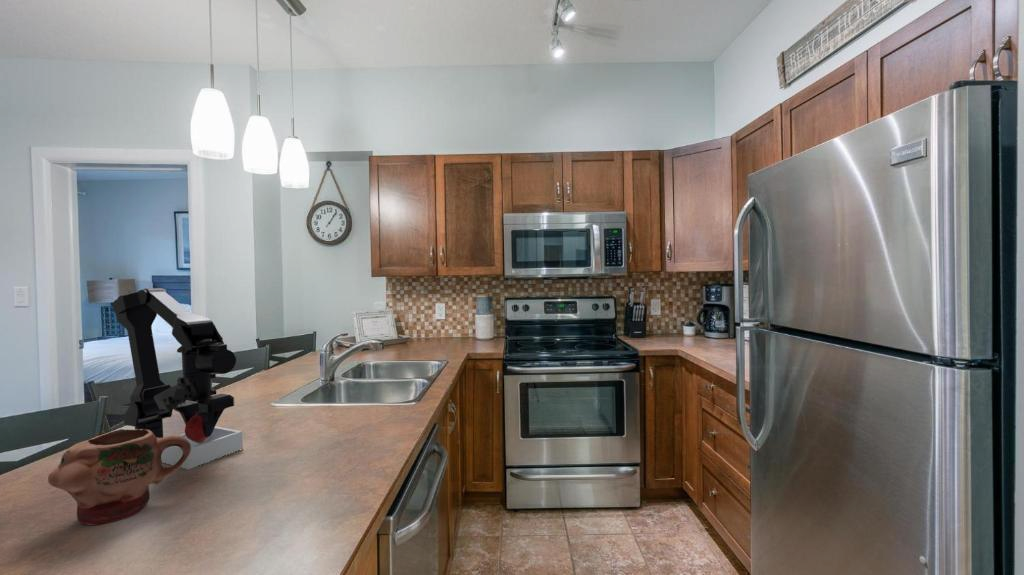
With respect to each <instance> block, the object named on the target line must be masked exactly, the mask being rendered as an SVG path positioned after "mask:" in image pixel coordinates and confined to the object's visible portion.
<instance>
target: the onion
mask: <svg viewBox="0 0 1024 575" xmlns="http://www.w3.org/2000/svg"><path fill="white" fill-rule="evenodd" d="M199 411H200V410H199ZM184 434H185V435H186V436H187V438H189V439H190V440H192V441H194V442H197V443H202V442H204V441H205V440H206V439H207V438H208V437H205V435H204V430H203V424H202V418H201V416H199V415H198V414H195V415H194V416H193V417H192V418H191V419H190V420H189V421H188V422H187V424H186V425H185V427H184Z"/></svg>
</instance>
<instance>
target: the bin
mask: <svg viewBox="0 0 1024 575" xmlns="http://www.w3.org/2000/svg"><path fill="white" fill-rule="evenodd" d="M177 436H180V437H183V438H185V439H187V440H188V442H189V443H190V445H191V451H190V454H189V456H188V458H187V459H186V460H185V461H184V462H183V464H182V465H181V466H180V467H183V468H182V469H184V468H186V469H185V470H188V469H189V470H191V469H190V468H192V469H194V468H193V467H195V468H197V467H199V466H198V465H200V466H202V465H201V464H203V463H205V464H207V463H206V462H208V461H211V460H213V461H215V460H214V459H216V458H218V459H220V458H219V457H221V458H223V457H222V456H224V455H226V456H228V455H227V454H229V455H231V454H230V453H232V452H234V453H236V452H235V451H237V452H239V451H238V450H240V449H242V450H244V443H243V441H244V440H243V437H244V436H243V431H242V430H237V429H231V428H226V427H221V426H216V425H215V428H214V430H213V432H212V434H211V436H209V437H208V438H207V439H206V440H205V441H204V442H202V443H197V442H194V441H192V440H190V439H189V438H187V436H186V435H185V433H182V434H179V435H177ZM240 451H241V450H240ZM232 454H233V453H232ZM182 455H183V451H182V450H181V448H179V447H177V446H171V447H168V448H166V449H165V450H164V451H163V452H162V455H161V461H162V464H165V463H166V464H165V465H169V464H170V466H173V465H175V464H176V463H177V462H178V461H179V460H180V458H181V457H182ZM224 457H225V456H224ZM216 460H217V459H216ZM211 462H212V461H211ZM208 463H209V462H208ZM203 465H204V464H203ZM196 466H197V467H196ZM180 467H179V468H180Z"/></svg>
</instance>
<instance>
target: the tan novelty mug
mask: <svg viewBox="0 0 1024 575" xmlns="http://www.w3.org/2000/svg"><path fill="white" fill-rule="evenodd" d="M171 446H177V447H179V448H181V450H182V451H183V455H182V457H181V458H180V460H179V461H178V462H177V463H176V464H175V465H170V466H164V465H163V463H162V461H161V455H162V452H163V451H164V450H165V449H166V448H168V447H171ZM190 451H191V445H190V443H189V442H188V440H187V439H185V438H183V437H180V436H178V435H169V436H168V435H167V436H163V438H157V437H156V436H155V435H154V434H153V432H152V431H150V430H144V429H135V428H134V429H133V428H131V429H117V430H113V431H110V432H107V433H104V434H101V435H97V436H94V437H92V438H90V439H86V440H83V441H80V442H77V443H75V444H73V445H72V446H70V447H69V448H68V449H66V451H65V452H64V453H63V455H62V456H61V458H60V459H61V460H60V462H59V464H58V465H57V467H55V468H54V469H53V470H52V471H51V472H50V473H49V474H48V477H47V481H48V483H49V485H50V486H52V487H54V488H57V489H60V490H63V491H65V492H67V493H68V494H69V495H70V496H71V497H72V498H73V499H74V501H75V502H76V504H77V505H76V517H77V518H76V519H77V521H78V522H79V523H80V524H84V525H88V526H89V525H90V526H91V525H93V526H94V525H100V524H107V523H111V522H115V521H119V520H122V519H126V518H129V517H131V515H132V516H133V514H134V515H136V514H137V513H139V512H140V511H142V510H143V509H144V508H145V507H146V505H147V504H148V503H149V501H150V497H151V494H150V485H152V484H154V485H160V484H161V483H162V482H163V481H164V480H166V479H167V478H168V477H170V476H172V474H174V473H175V472H176V471H177V470H178V469H180V466H181V465H182V464H183V462H184V461H185V460H186V459H187V458H188V456H189V454H190Z"/></svg>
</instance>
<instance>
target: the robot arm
mask: <svg viewBox="0 0 1024 575" xmlns="http://www.w3.org/2000/svg"><path fill="white" fill-rule="evenodd" d="M112 311H113V312H114V314H115V317H116V320H117V322H118V323H119V324H120V325H121V326H122V327H123V328H124V329H125V330H126V331H127V336H128V342H129V348H130V355H131V359H132V366H133V372H134V377H135V378H134V379H135V382H136V383H135V388H134V389H133V391H132V392H131V395H130V405H129V407H128V408H127V410H126V411H125V413H124V415H123V417H122V418H123V419H122V420H123V422H124V426H128V427H130V426H131V427H134V429H144V430H150V431H152V432H153V434H154V435H155V436H156V437H157V438H163V437H164V421H163V420H164V419H167V418H172V416H173V410H174V411H175V412H178V413H179V414H180V416H181V417H182V420H183V422H184V424H185V426H186V424H187V422H188V421H189V420H190V419H191V418H192V417H193V416H194V415H195V414H198V415H199V416H201V418H202V424H203V430H204V435H205V437H209V436H211V434H212V432H213V430H214V428H215V426H216V425H217V423H218V421H219V419H220V417H221V416H222V414H223V412H224V411H225V410H226V409H229V408H231V407H235V397H234V396H232V395H231V394H226V393H218V394H217V389H213V381H212V380H213V379H214V378H217V376H216V375H225V374H228V373H231V371H232V370H234V368H235V366H236V363H237V357H236V355H235V354H234V351H231V350H229V349H228V345H227V343H225V342H224V341H223V337H222V336H221V334H220V333H219V331H218V329H217V327H216V325H215V323H214V322H213V320H211V319H210V318H209V317H206V316H204V315H202V314H199V313H197V314H196V313H193V312H191V311H190V310H188V309H187V308H186V307H184V306H183V305H182V304H181V303H179V302H178V301H177V300H176V299H175V298H173V296H171V295H169V293H168V291H167V289H165V288H162V287H152V288H143V289H140V290H138V291H136V292H135V291H134V292H132V293H129V294H124V295H119V296H118V297H117V299H115V300H114V301H113V302H112ZM157 316H159V317H160V318H161V319H162V320H164V321H165V323H166V324H168V325H169V326H170V327H171V328H172V329H171V335H172V337H174V339H175V340H176V342H177V343H178V344H180V346H179V347H178V349H176V353H180V354H181V367H182V368H181V370H182V376H178V378H177V380H176V381H177V383H176V384H175V385H173V386H171V385H170V384H166V383H165V382H164V381H162V380H161V375H160V371H159V364H158V358H157V353H156V348H155V340H154V337H153V336H154V335H153V329H152V325H153V323H154V321H155V320H156V317H157ZM199 410H200V411H199Z"/></svg>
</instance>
